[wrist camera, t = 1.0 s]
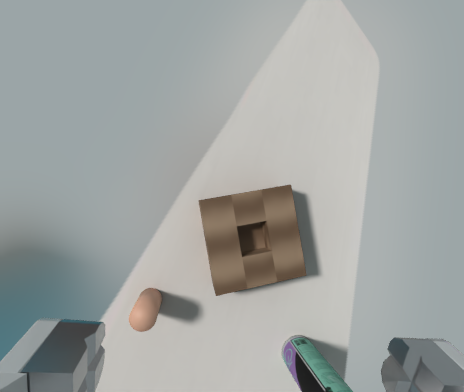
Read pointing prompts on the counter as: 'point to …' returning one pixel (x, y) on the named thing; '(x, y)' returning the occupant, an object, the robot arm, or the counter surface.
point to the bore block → (252, 239)
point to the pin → (145, 310)
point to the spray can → (311, 367)
